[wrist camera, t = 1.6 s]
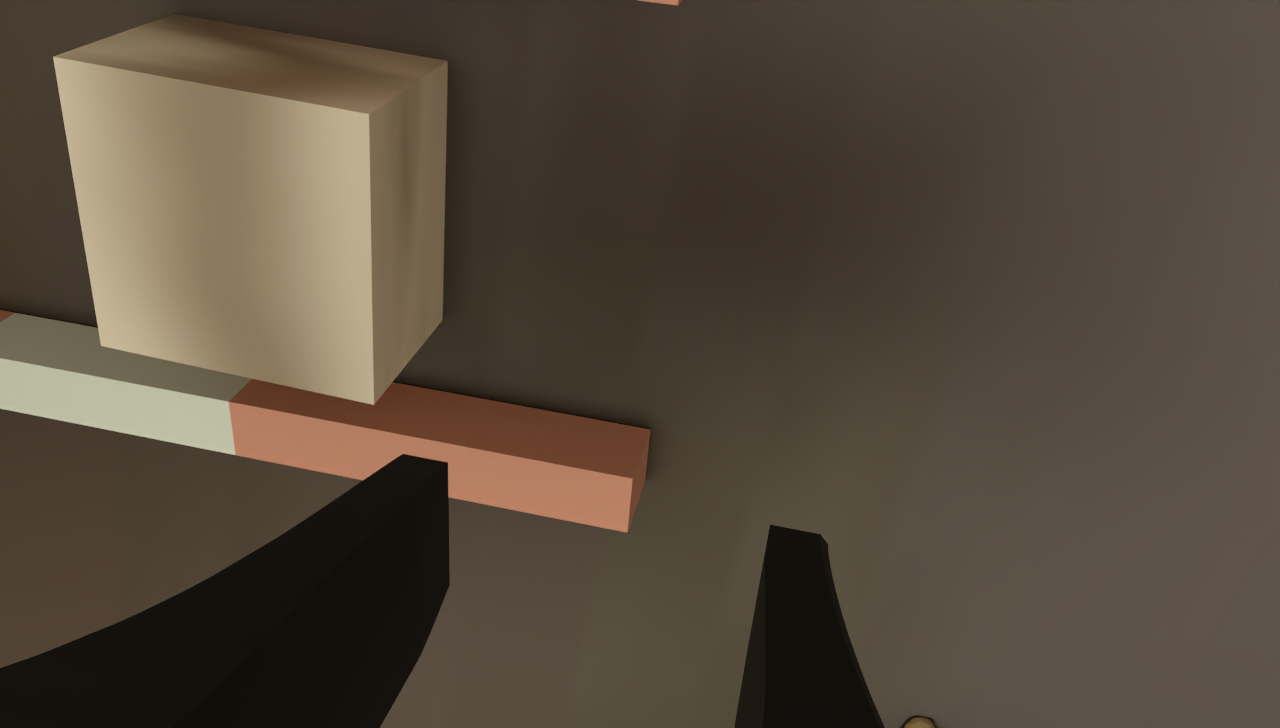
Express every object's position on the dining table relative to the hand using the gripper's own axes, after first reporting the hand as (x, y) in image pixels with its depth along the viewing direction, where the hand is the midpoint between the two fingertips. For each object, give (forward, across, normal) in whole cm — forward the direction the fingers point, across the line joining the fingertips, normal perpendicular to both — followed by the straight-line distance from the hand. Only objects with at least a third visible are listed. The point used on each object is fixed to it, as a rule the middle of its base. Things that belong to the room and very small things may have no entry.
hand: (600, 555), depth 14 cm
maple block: (+11, +9, 0) cm, 14 cm away
